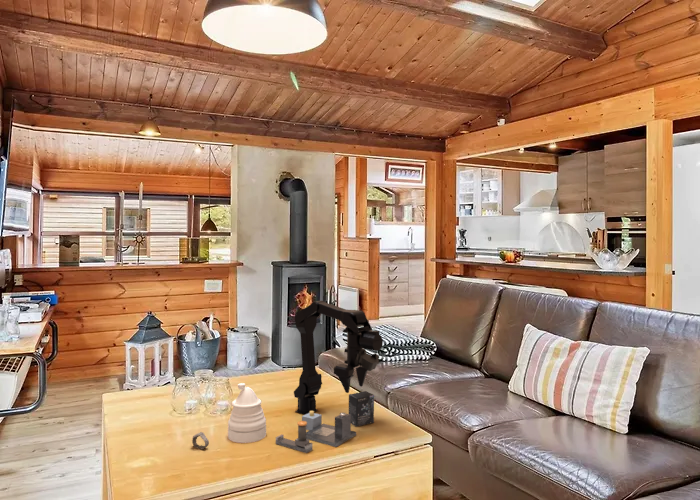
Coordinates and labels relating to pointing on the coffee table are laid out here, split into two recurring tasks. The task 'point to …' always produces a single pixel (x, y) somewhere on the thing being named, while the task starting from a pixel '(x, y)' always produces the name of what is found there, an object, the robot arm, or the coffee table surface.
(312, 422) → the block
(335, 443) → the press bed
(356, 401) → the box
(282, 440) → the lever rail
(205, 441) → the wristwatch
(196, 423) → the coffee table surface
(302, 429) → the lever
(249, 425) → the honey pot
